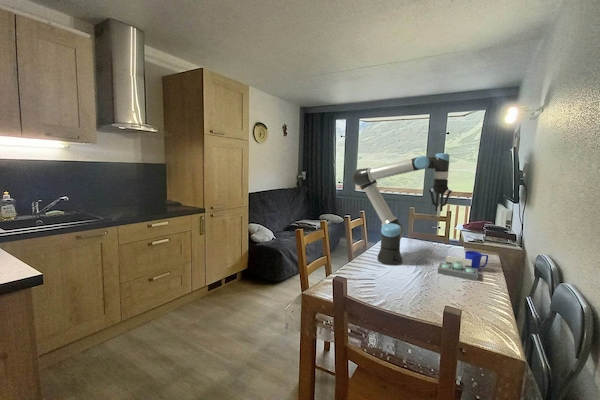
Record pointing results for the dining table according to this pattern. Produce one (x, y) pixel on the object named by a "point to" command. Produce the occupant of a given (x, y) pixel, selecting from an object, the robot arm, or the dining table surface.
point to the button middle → (457, 266)
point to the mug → (475, 258)
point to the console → (458, 272)
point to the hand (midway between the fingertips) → (438, 216)
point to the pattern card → (458, 261)
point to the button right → (469, 270)
